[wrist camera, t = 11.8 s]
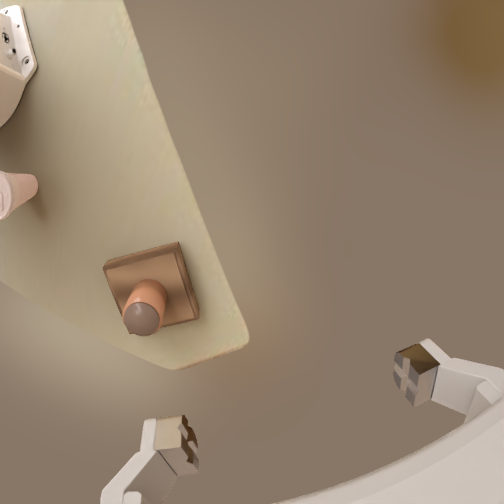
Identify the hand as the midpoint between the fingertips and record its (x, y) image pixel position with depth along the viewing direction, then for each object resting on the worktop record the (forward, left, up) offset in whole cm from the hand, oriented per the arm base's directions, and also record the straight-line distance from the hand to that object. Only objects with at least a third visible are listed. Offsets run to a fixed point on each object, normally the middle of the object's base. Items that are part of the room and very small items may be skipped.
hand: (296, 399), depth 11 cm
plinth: (+8, -13, -35) cm, 38 cm away
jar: (+8, -13, -32) cm, 35 cm away
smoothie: (-12, -28, -35) cm, 47 cm away
